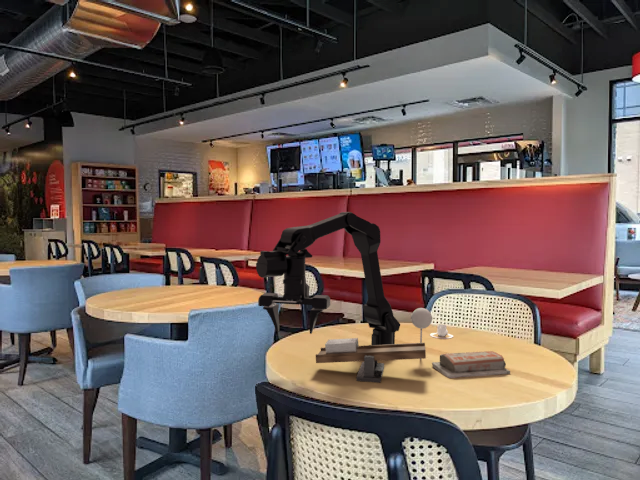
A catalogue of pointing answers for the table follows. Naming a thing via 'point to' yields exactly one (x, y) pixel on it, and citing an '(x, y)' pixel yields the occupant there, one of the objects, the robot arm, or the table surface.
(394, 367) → the table surface
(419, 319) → the lollipop
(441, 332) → the teacup and saucer
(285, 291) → the robot arm
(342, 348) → the block
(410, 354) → the beam
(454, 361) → the packaged product
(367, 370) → the stand
